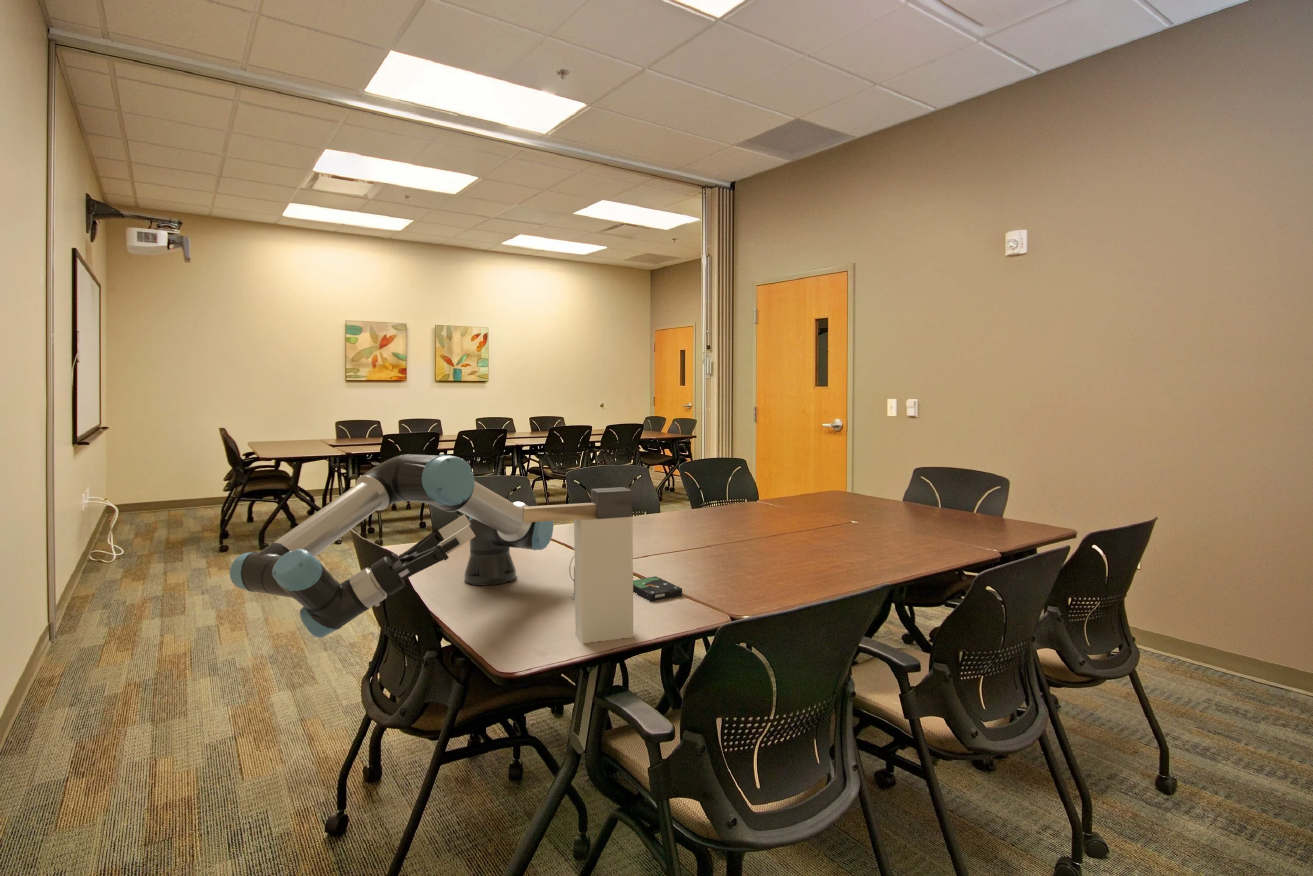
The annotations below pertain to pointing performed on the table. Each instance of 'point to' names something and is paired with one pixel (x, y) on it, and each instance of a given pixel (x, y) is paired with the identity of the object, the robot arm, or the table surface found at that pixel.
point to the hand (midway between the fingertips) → (469, 524)
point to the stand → (603, 578)
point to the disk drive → (656, 589)
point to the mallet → (585, 507)
